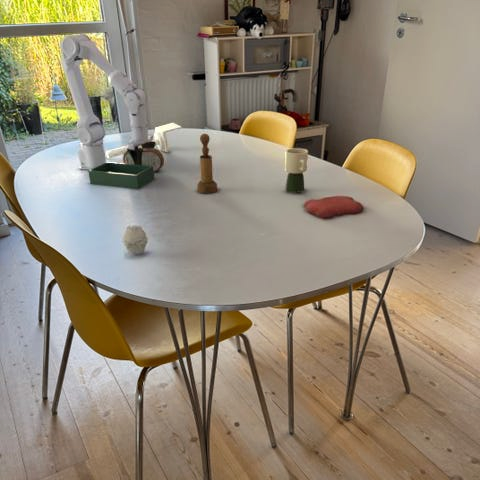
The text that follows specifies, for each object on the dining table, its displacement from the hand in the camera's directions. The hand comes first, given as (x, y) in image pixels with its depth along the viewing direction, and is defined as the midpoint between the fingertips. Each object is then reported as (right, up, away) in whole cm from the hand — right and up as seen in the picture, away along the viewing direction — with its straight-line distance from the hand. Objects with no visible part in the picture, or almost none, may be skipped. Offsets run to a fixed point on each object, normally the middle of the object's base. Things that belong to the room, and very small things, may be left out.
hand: (143, 164), depth 179 cm
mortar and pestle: (+25, -14, -18) cm, 34 cm away
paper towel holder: (-4, +12, +23) cm, 27 cm away
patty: (+64, -24, -33) cm, 76 cm away
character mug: (+54, -15, -19) cm, 59 cm away
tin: (0, -2, +2) cm, 3 cm away
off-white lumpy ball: (+10, -41, -57) cm, 71 cm away
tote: (-6, -9, -8) cm, 13 cm away
